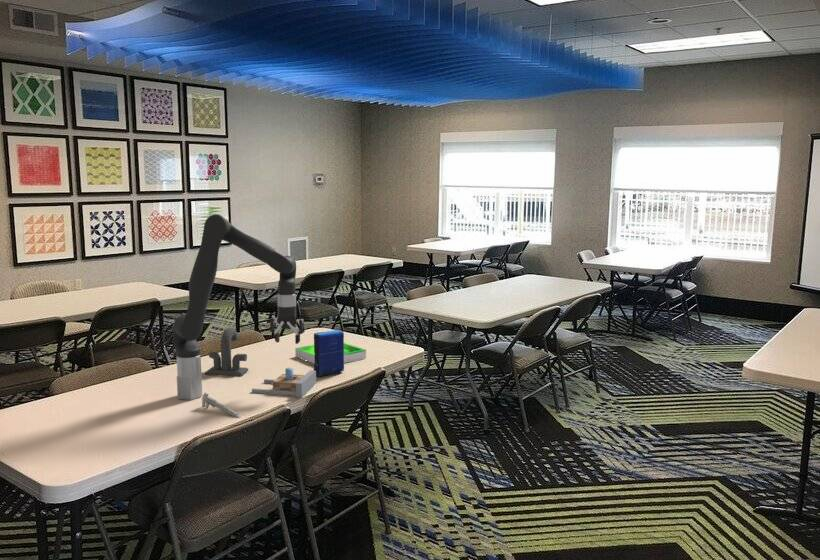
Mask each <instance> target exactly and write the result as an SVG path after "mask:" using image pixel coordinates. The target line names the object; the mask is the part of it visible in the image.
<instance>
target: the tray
mask: <svg viewBox="0 0 820 560" xmlns="http://www.w3.org/2000/svg"><path fill="white" fill-rule="evenodd" d="M294 349H295V358H297V357H299V358H298V359H300V358H302V359H304V360H303V361H305V360H307V361H309V362H308V363H310V362H312V363H315V358H314V357H315V353H314V344H310V345H305V346H301V347H300V346H299V347H295V348H294ZM365 358H366V359H367V349H365V348H362V347H359V346H356V345H352V344H350V343H346V342H344V364H348V363H347V362H349V363H353V362H357V361H356V360H358V361H361V359H362V360H366V359H365ZM302 359H301V360H302ZM307 361H306V362H307ZM352 361H353V362H352ZM312 363H311V364H312Z"/></svg>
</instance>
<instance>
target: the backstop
mask: <svg viewBox="0 0 820 560" xmlns="http://www.w3.org/2000/svg"><path fill="white" fill-rule="evenodd" d="M303 375H304V376H303V377H302V378H301V379H300V380H299V381H298V382H297V383H296V391H285V390H273V389H269V388H255V387H254V388H253V387H252V388H251V393H253V394H256V393H257V394H267V395H284V396H295V398H297V399H300V398H301V399H302V398H303V397H305V396H306V394H307V393H309V392H310V390H312V389H311V388H312V387H313V386H314V385H315V384H317V376H316V371H314V369H313V370H309V371H308V372H306V373H305V374H303ZM274 380H275V379H270V378H264V379H263V383H264V384H272V385H273V381H274ZM314 387H315V386H314ZM314 387H313V388H314Z"/></svg>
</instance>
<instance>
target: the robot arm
mask: <svg viewBox="0 0 820 560" xmlns="http://www.w3.org/2000/svg"><path fill="white" fill-rule="evenodd" d="M202 231H203V232H202V238H201V243H200V247H199V250H198V252H197V255H196V258H195V259H194V260H195V261H194V264H193V267H192V270H191V274H190V277H189V281H188V297H189V298H188V306H187V309H186V310H187V311H186V312H185V314H181V315H179V316H177V318H175V320H174V321H173V324H172V335H173V336H172V338H173V346H174V349H175V350H174V351H175V354H176V370H177V371H176V372H177V373H176V374H177V376H176V388H177V389H176V391H177V399H178V400H187V401H193V400H195V399H198V398H200V397H202V396H203V382H202V381H203V378H202V359H201V357H202V355H201V353H202V352H201V347H200V346H199V343H198V341H197V339H198V338H199V337H200V335H201V333H202V331H203V327H204V323H205V317H206V311H207V307H208V303H209V299H210V297H211V293H212V289H213V288H214V287H213V286H214V283H215V280H216V276H217V271H218V263H219V262H218V261H219V251H220V248H221V244H222V241H224V242H227V243H230V244H231V245H233V246H235V247H237V248H239V249H241V250H242V251H244V252H245V253H247V254H248V255H250V256H252V257H253V258H256V259H257V260H258V261H260V262H262V263H264V264H266V265H268V267H270V268H272V269H273V270H274V271H276V272H277V273H279V280H278V283H277V317H275V316H273V317H271V318H270V321H269V322H270V323H269V326H270V327H269V331H270V333H273V334H274V341H275V342H276V344H277V343H280V331H281V330H282V329H283V330H286V329H287V330H291V331H293V332H294V334H295V335H294V336H295V337H294V339H295V340H294V343H295V344H296V345H298V344H299V343H300V342H301V335H302V334H304V333H305V319H304V318H300V319H299V318H297V297H296V276H297V261H296V259H295V258H294V257H293V256H290V255H283V254H281V253H280V252H277V250H276V249H275V248H274V247H273V246H271V245H268V244H267V243H265V242H263V241H262V240H260V239H257V238H255V237H252V236H250V235H248V234H246V233H245V232H243V231H241V230H240V229H238V228H237V227H236V226H234V225H233V224H232V223H230V222H229V221H228V220H227V218H225V217H224V216H222V215H220V214H216V213H215V214H212V215H210V216H209V217H207V219H206V220H205V221H204V225H203V230H202ZM276 323H277V324H278V325H277V327H276ZM297 324H298V325H299V327H298V326H297Z"/></svg>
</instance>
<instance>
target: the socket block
mask: <svg viewBox="0 0 820 560" xmlns="http://www.w3.org/2000/svg"><path fill="white" fill-rule="evenodd" d="M304 375H305V374H293V380H286V374H285V373H281V375H279V376H278V377H277V378H275V379H273V380H274V381H273V384H272V390H285V391H296V383H297V382H298V381H299V380H300V379H301V378H302V377H303V376H304Z"/></svg>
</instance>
